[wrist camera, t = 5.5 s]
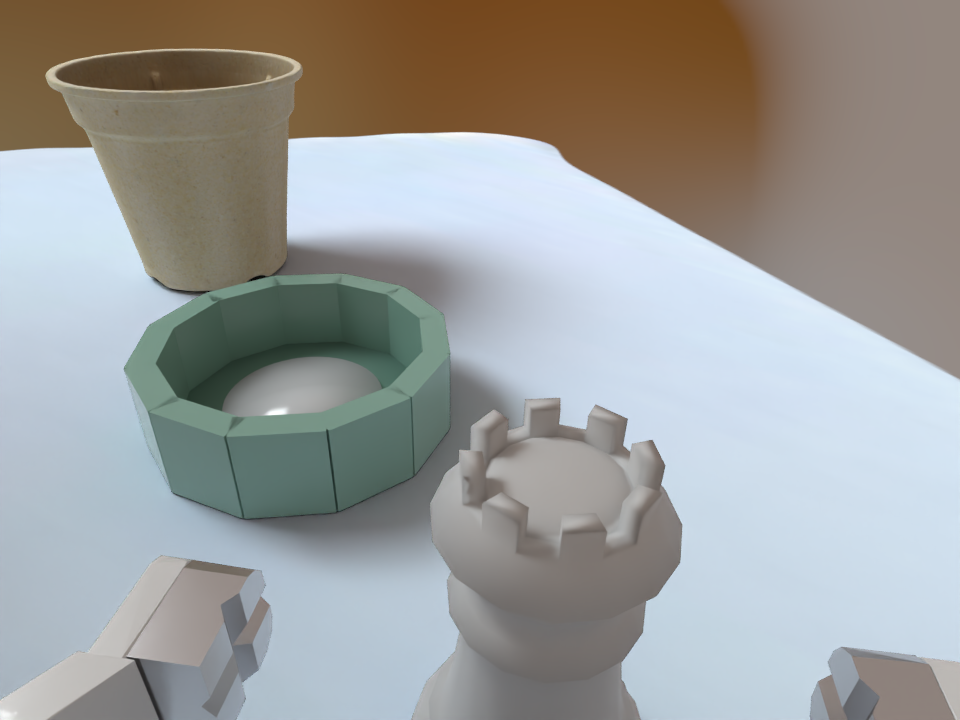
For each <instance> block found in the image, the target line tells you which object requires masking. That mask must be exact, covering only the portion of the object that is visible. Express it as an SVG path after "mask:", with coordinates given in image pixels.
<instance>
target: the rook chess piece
mask: <svg viewBox="0 0 960 720" xmlns="http://www.w3.org/2000/svg"><path fill="white" fill-rule="evenodd" d="M559 418H560V398H547V399H525V407H524V421H523V426H521V427H518V428H515V429H512V430H508V419H507V418H506V417H504V416H503V415H502V414H500V413H499V412H498V411H496V410H495V409H493V410H492V411H491V412H489V413H488V414H487V415H485V416H484V417H483V418H481V419H480V420H478V421H477V422H476V423H474V424H473V425H472V426H471V438H470V450H459V462H458V463H457V464H456V465H455V466H453V467H452V468H451V469H450V470H448V471H447V472H446V473H445V475H444V477H443V479H442V481H441V483H440V485H439V487H438V489H437V491H436V493H435V495H434V497H433V499H432V501H431V503H430V514H431V531H432V542H433V543H434V545H435V546H436V548H437V549H438V551H439V553H440V554H441V556H442V557H443V559H444V561H445V562H446V564H447V565H448V567H449V569H450V570H451V573H450V575H449V578H448V580H447V588H448V600H449V613H450V616H451V617H452V619H453V621H454V622H455V624H456V626H457V628H458V629H459V631H460V632H459V637H458V641H457V645H456V649H455V652H454V653H453V654H452V655H451V656H450V657H449V658H448V659H447V660H446V661H445V662H444V664H443V665H442V666H441V667H440V668H439V669H438V670H437V671H436V672H435V673H434V674H433V675H432V676H431V677H430V678H429V679H428V680H427V682H426V684H425V686H424V688H423V690H422V693H421V695H420V698H419V701H418V703H417V706H416V708H415V711H414V713H413V716H412V719H411V720H641V719H640V716H639V713H638V709H637V706H636V703H635V701H634V700H633V698H632V697H631V696H630V695H629V693H628V692H627V690H626V687H625V683H624V682H623V681H622V680H621V662H622V661H623V660H624V659H625V657H626V656H627V654H628V653H629V651H630V650H631V649H632V647H633V646H634V644H635V643H636V641H637V640H638V638H639V637H640V636H641V634H642V633H643V625H644V616H645V606H646V601H648V600H650V599H652V598H654V597H656V596H657V594H658V593H659V592H660V590H661V589H662V587H663V586H664V585H665V583H666V582H667V580H668V579H669V578H670V576H671V575H672V573H673V572H674V570H675V569H676V568H677V566H678V565H679V563H680V557H681V538H682V524H681V522H680V519H679V517H678V515H677V513H676V511H675V509H674V507H673V505H672V503H671V501H670V499H669V497H668V495H667V492H666V490H665V489H664V488H663V487H662V485H661V482H662V478H663V474H664V469H665V464H664V462H663V460H662V458H661V456H660V454H659V452H658V450H657V448H656V446H655V444H654V442H653V440H649V441H644V442H639V443H634V444H632V447H631V452H629V451H628V450H627V449H626V448H625V447H624V446H623V442H624V437H625V431H626V426H627V420H628V419H627V418H625V417H622V416H620V415H618V414H616V413H613V412H611V411H609V410H607V409H604V408H602V407H600V406H598V405H595V406H594V408H593V409H592V411H591V412H590V414H589V416H588V422H587V429H586V430H585V429H580V428H575V427H569V426H564V425H559Z"/></svg>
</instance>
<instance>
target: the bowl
mask: <svg viewBox="0 0 960 720" xmlns="http://www.w3.org/2000/svg"><path fill="white" fill-rule="evenodd" d="M124 372H125V375H126V378H127V381H128V385H129V388H130V391H131V394H132V398H133V401H134V404H135V407H136V410H137V414H138V417H139V420H140V423H141V427H142V430H143V433H144V436H145V439H146V443H147V446H148V448H149V450H150V452H151V454H152V456H153V458H154V459H155V461H156V463H157V465H158V467H159V469H160V471H161V473H162V475H163V477H164V478H165V480H166V482H167V484H168V486H169V488H170V490H171V492H173V493H175V494H177V495H180V496H183V497H185V498H188V499H191V500H193V501H196V502H199V503H202V504H204V505H207V506H210V507H212V508H215V509H218V510H220V511H223V512H226V513H228V514H231V515H234V516H237V517H239V518H242V519H243V518H244V517H245V519H253V518H267V517H280V516H294V515H308V514H322V513H336V510H338V512H339V511H341V510H344V509H346V508H348V507H350V506H352V505H354V504H356V503H358V502H361V501H363V500H365V499H367V498H369V497H371V496H373V495H376V494H378V493H380V492H382V491H384V490H386V489H388V488H390V487H393V486H395V485H397V484H399V483H401V482H403V481H405V480H407V479H410V478H412V477H413V475H416V473H417V472H418V471H419V469H420V468H421V467H422V465H423V464H424V463H425V461H426V460H427V459H428V457H429V456H430V455H431V453H432V452H433V451H434V449H435V448H436V447H437V445H438V444H439V443H440V441H441V440H442V439H443V437H444V436H445V435H446V433H447V432H448V431H449V429H450V349H449V343H448V337H447V331H446V325H445V319H444V315H443V313H441V312H440V311H439V310H437V309H436V308H434V307H433V306H431V305H430V304H428V303H427V302H426V301H424V300H423V299H421V298H420V297H418V296H417V295H415V294H414V293H413V292H411V291H410V290H408V289H407V288H405V287H403V286H400V285H395V284H390V283H386V282H381V281H377V280H372V279H367V278H363V277H358V276H354V275H349V274H343V273H339V274H307V275H275V277H274V276H270V277H266V278H262V279H258V280H254V281H250V282H246V283H242V284H239V285H235V286H231V287H227V288H223V289H219V290H215V291H211V292H207V293H206V294H202V295H200V296H199V297H197V298H195V299H194V300H192V301H190V302H188V303H187V304H185V305H183V306H181V307H180V308H178V309H176V310H175V311H173V312H171V313H169V314H168V315H166V316H164V317H162V318H161V319H159V320H157V321H156V322H154V323H152V324H150V325H149V326H148V327H147V329H146V331H145V332H144V334H143V336H142V338H141V339H140V341H139V343H138V345H137V346H136V348H135V350H134V351H133V353H132V355H131V357H130V358H129V360H128V362H127V363H126V365H125V367H124Z"/></svg>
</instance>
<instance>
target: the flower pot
mask: <svg viewBox="0 0 960 720" xmlns="http://www.w3.org/2000/svg"><path fill="white" fill-rule="evenodd" d="M301 75H302V66H301V64H300V63H298V62H296V61H294V60H293V59H290V58H287V57H284V56H280V55H275V54H269V53H262V52H253V51H237V50H227V49H225V50H222V49H163V50H162V49H161V50H145V51H134V52H123V53H113V54H106V55H97V56H93V57H87V58H81V59H77V60H72V61H69V62H66V63H63V64H59V65H57V66H55V67H53V68H51V69H50V70H48V72H47V73H46V79H47V82H48V84H49V85H50V86H51V87H52V88H53V89H55V90H57V91H59V92H61V93H62V95H63V97H64V99H65V101H66V103H67V105H68V107H69V110H70V112H71V114H72V117H73V118H74V120H75V121H76V123H77V124H78V125H80V126H81V127H83V128H84V129H85V131H86V133H87V135H88V137H89V139H90V142H91V144H92V146H93V148H94V151H95V153H96V155H97V158H98V160H99V162H100V164H101V167H102V169H103V171H104V174H105V176H106V178H107V181H108V183H109V185H110V188H111V190H112V192H113V194H114V197H115V199H116V201H117V204H118V206H119V208H120V210H121V213H122V215H123V217H124V220H125V222H126V225H127V227H128V229H129V232H130V234H131V236H132V239H133V241H134V243H135V246H136V248H137V250H138V253H139V255H140V258H141V260H142V262H143V265H144V268H145V271H146V273H147V274H148V275H149V276H150V277H154V278H156V279H157V280H159V281H160V282H161V283H163V284H164V285H165V286H166V287H168V288H172V289H177V290H185V291H215V290H219V289H223V288H227V287H231V286H235V285H239V284H242V283H246V282H247V281H249V280H250V279H252V278H253V277H256V276H260V275H264V276H271V275H272V274H274V273H275V272H276V271H277V270H278V269H279V268H281V267H282V265H283V264H284V262H285V261H286V258H287V171H288V118H289V115H290V114H291V113H292V111H293V109H294V84H295V81H297V80H298V79H299V78H300V77H301Z"/></svg>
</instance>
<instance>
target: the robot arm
mask: <svg viewBox="0 0 960 720" xmlns="http://www.w3.org/2000/svg"><path fill="white" fill-rule="evenodd" d="M265 586H266V585H265V581H264V577H263V574H262V571H260V570H254V569H247V568H241V567H234V566H228V565H222V564H215V563H209V562H202V561H196V560H190V559H183V558H176V557H169V556H160V557H159V558H157V559H156V560H155V561H153V562H152V563H151V564H150V565H149V566H148V567H147V569H146V570H145V572H144V573H143V574H142V576H141V577H140V579H139V580H138V581H137V583H136V584H135V586H134V587H133V589H132V590H131V591H130V593H129V594H128V596H127V597H126V599H125V600H124V601H123V603H122V604H121V606H120V607H119V608H118V610H117V611H116V613H115V614H114V616H113V617H112V618H111V620H110V621H109V623H108V624H107V626H106V627H105V628H104V630H103V631H102V633H101V634H100V635H99V637H98V638H97V640H96V641H95V643H94V644H93V645H92V647H91V648H90V650H89V651H88V652H81V651H77V652H76V653H74V654H72V655H71V656H69V657H68V658H66V659H65V660H63V661H61V662H60V663H58V664H57V665H55V666H53V667H52V668H50V669H49V670H47V671H46V672H44V673H42V674H41V675H39V676H38V677H36V678H34V679H33V680H31V681H30V682H28V683H26V684H25V685H23V686H22V687H20V688H19V689H17V690H15V691H14V692H12V693H11V694H9V695H7V696H6V697H4V698H3V699H1V700H0V720H236V719H237V717H238V715H239V713H240V710H241V708H242V706H243V704H244V702H245V699H246V698H245V693H244V689H243V685H242V682H244V681H245V680H246V679H248V678H249V677H250V676H251V675H253V674H254V673H255V672H257V671H258V670H259V668H260V666H261V664H262V661H263V659H264V657H265V654H266V652H267V648H268V644H269V640H270V636H271V632H272V613H271V608H270V605H269V604H268V603H267V602H266V601H265V600H264V599H263V598H262V597H261V594H262V592H263V590H264V588H265ZM828 664H829V667H830V670H831V674H832V675H830V676H828V677H826V678H824V679H822V680H820V681H818V682H817V685H816V687H815V689H814V692H813V694H812V696H811V708H810V720H960V663H959V662H955V661H947V660H939V659H930V658H922V657H917V656H915V655H907V654H899V653H890V652H882V651H874V650H865V649H857V648H848V647H840V648H838V649H836V650H834V651H833V653H832V655H831V657H830V659H829V661H828Z"/></svg>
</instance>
